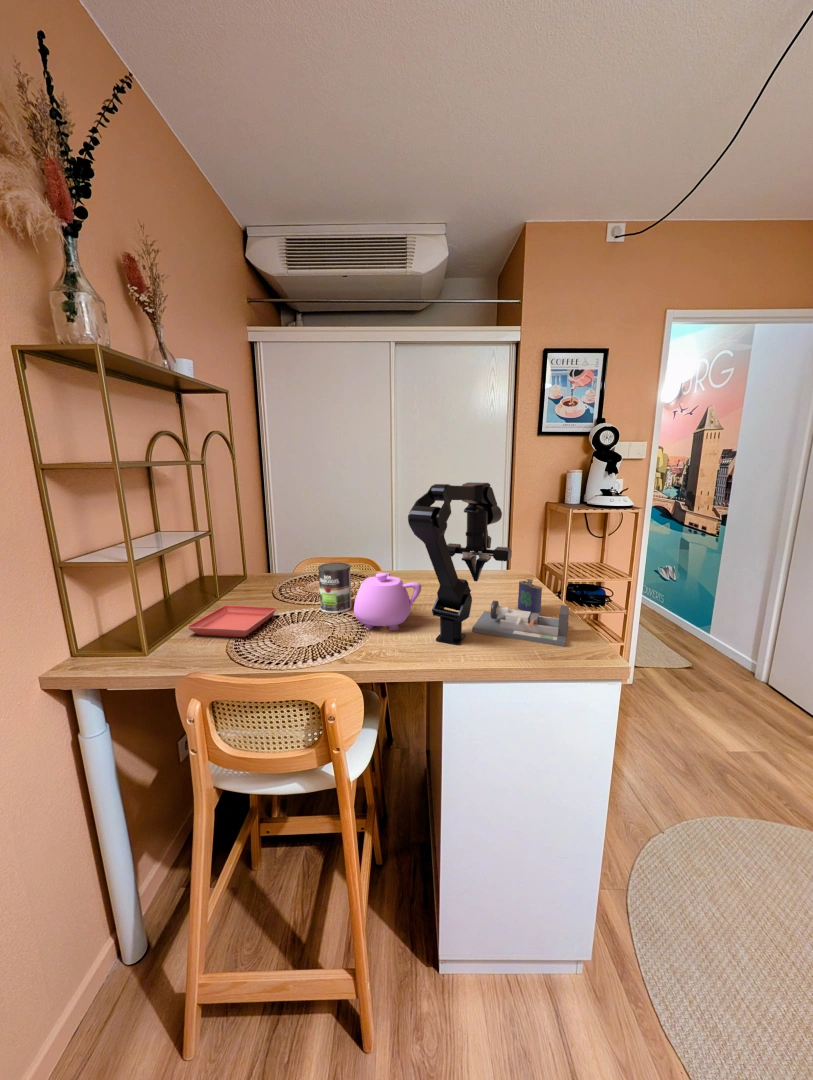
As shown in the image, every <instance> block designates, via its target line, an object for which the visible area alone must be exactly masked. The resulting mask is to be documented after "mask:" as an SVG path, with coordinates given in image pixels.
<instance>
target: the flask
mask: <svg viewBox="0 0 813 1080" xmlns="http://www.w3.org/2000/svg"><path fill="white" fill-rule="evenodd" d="M533 582H534V579H532V578H526V579H525V580H519V582H518V597H517V598H518V599H517V610H521V611H529V612H531V615H532V613H539V616H542V595H543V593H542V592H543V586H542V587H541V586H539V585H535V584H533Z"/></svg>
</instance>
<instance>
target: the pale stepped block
mask: <svg viewBox="0 0 813 1080" xmlns="http://www.w3.org/2000/svg"><path fill="white" fill-rule="evenodd" d="M490 612H491V619H497V617H498V615H505V616H506V620H509V621H516V625H519V623H520V622H523V623H529V622H530V617H531V612H529V611H521V610H519V609H513V608H510V607H507V606H500V604H499V600H494V599H493V600H492V603H491V605H490Z"/></svg>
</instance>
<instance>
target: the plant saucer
mask: <svg viewBox="0 0 813 1080" xmlns="http://www.w3.org/2000/svg"><path fill="white" fill-rule="evenodd" d="M277 609H278V608H277V607H276V606H275V607H274V606H273V607H272V606H270V607H269V606H253V605H252V606H249V605H247V606H246V605H223V606H221V607H219V608H217V609H215V610H214V611H213V612H211V613H208V614H207V615H205V616H203V617H200V618H199V619H198V620H195V622H192V623H191V624H189V625H188V626H187V629H189V630H190V631H192V632H193V633H195V634H197V635H198V636H211V637H212V636H214V637H233V638H234V637H235V638H246V637H248V635H250V634H251V633H253V632H254V631H256V630H257V629H258V628H259V627H260V626H262V625H263V624H265V623H266V622H267V621H268V620H269V619H271V618H272V616H273V615H274V614H275V612H276V610H277Z"/></svg>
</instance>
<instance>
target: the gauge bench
mask: <svg viewBox="0 0 813 1080" xmlns="http://www.w3.org/2000/svg"><path fill="white" fill-rule="evenodd" d="M569 612H570V605H563V604H561V605H560V608H559V613H558V617H557V618H556V617H551V616H543V615H540V616H539V623H538V625H536V624H533V627H532V628H531V627H529V625H530V624H529V623H523V622H520V623H519V625H516V621H509V620H506V616H505V615H498V617H497V619H491V611H488V610H484V611H483V612H482V614H481V615H480V616H479V617H478V618H477V621H476V622H475V623H474V624H473V626H472V628H471V632H472V633H478V634H484V635H485V634H486V635H491V636H496V637H503V638H510V639H516V640H522V641H528V642H532V643H533V642H534V643H539V644H546V645H552V646H553V645H554V646H558V647H566V644H567V643H566V642H567V636H568V631H569V629H568V628H569V614H570V613H569Z"/></svg>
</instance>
